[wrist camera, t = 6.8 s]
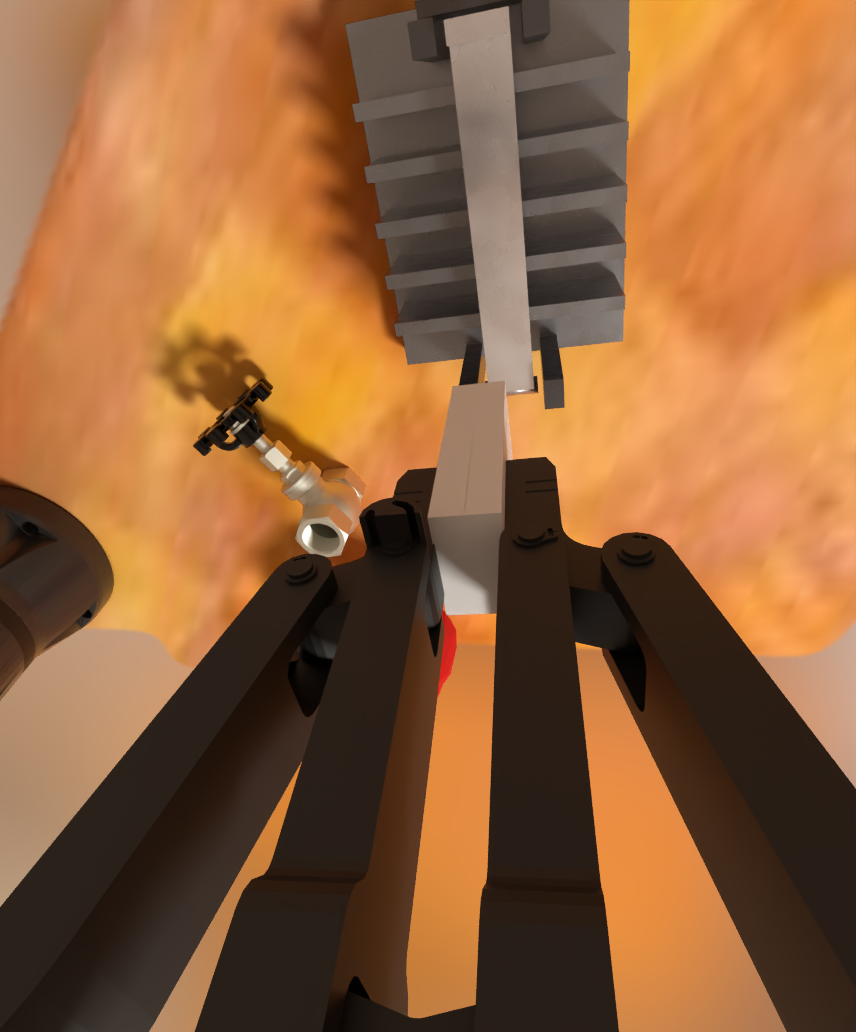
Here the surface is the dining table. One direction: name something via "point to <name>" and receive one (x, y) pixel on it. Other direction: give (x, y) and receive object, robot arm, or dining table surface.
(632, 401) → the dining table surface
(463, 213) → the heatsink
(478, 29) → the grey long bar
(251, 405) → the valve
